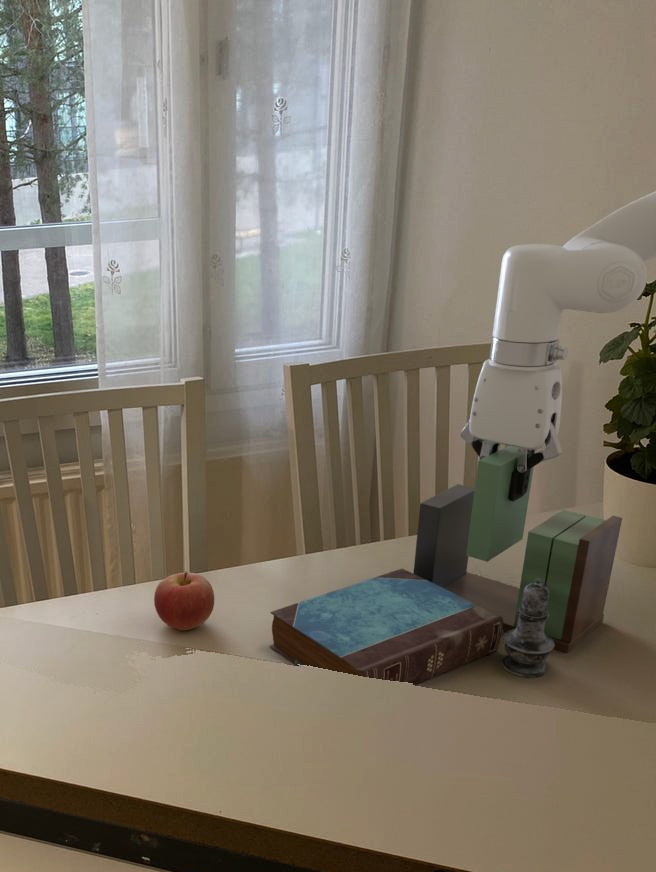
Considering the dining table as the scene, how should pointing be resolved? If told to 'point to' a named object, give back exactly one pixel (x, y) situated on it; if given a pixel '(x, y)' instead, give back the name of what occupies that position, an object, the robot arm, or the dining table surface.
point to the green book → (496, 507)
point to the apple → (184, 600)
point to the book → (386, 629)
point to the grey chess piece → (529, 635)
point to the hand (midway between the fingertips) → (502, 493)
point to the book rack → (544, 557)
